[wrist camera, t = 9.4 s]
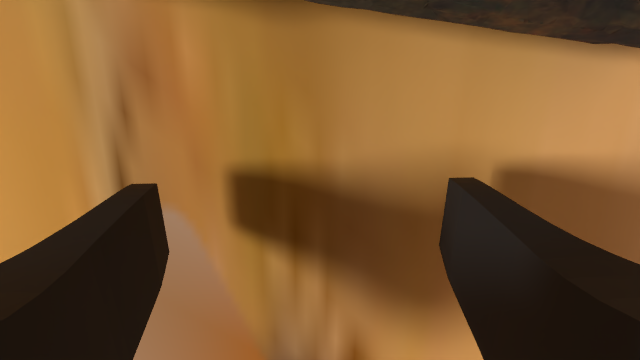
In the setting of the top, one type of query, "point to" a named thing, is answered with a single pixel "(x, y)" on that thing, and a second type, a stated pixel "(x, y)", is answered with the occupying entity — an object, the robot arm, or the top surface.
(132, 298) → the robot arm
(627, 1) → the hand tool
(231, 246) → the top surface
